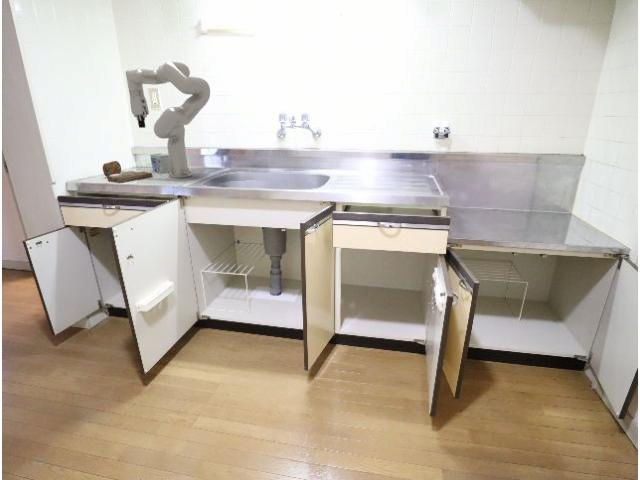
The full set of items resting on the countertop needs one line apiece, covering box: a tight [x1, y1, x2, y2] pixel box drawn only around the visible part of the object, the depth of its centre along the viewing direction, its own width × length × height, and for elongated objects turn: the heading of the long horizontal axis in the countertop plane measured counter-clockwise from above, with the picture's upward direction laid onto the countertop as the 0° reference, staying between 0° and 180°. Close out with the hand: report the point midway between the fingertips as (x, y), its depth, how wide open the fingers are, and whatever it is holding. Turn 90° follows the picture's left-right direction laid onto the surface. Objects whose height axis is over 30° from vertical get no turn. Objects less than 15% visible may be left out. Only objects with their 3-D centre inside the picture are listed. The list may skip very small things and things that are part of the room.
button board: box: [106, 171, 153, 184], centre depth 204 cm, size 11×20×3 cm, turn 149°
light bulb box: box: [150, 153, 171, 174], centre depth 225 cm, size 11×7×11 cm, turn 56°
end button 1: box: [110, 173, 122, 177], centre depth 200 cm, size 4×4×3 cm
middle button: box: [121, 169, 134, 175], centre depth 205 cm, size 4×4×3 cm
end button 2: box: [132, 169, 146, 173], centre depth 211 cm, size 4×4×3 cm
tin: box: [102, 160, 122, 178], centre depth 213 cm, size 15×3×8 cm, turn 179°
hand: (142, 127), depth 211 cm, fingers closed
